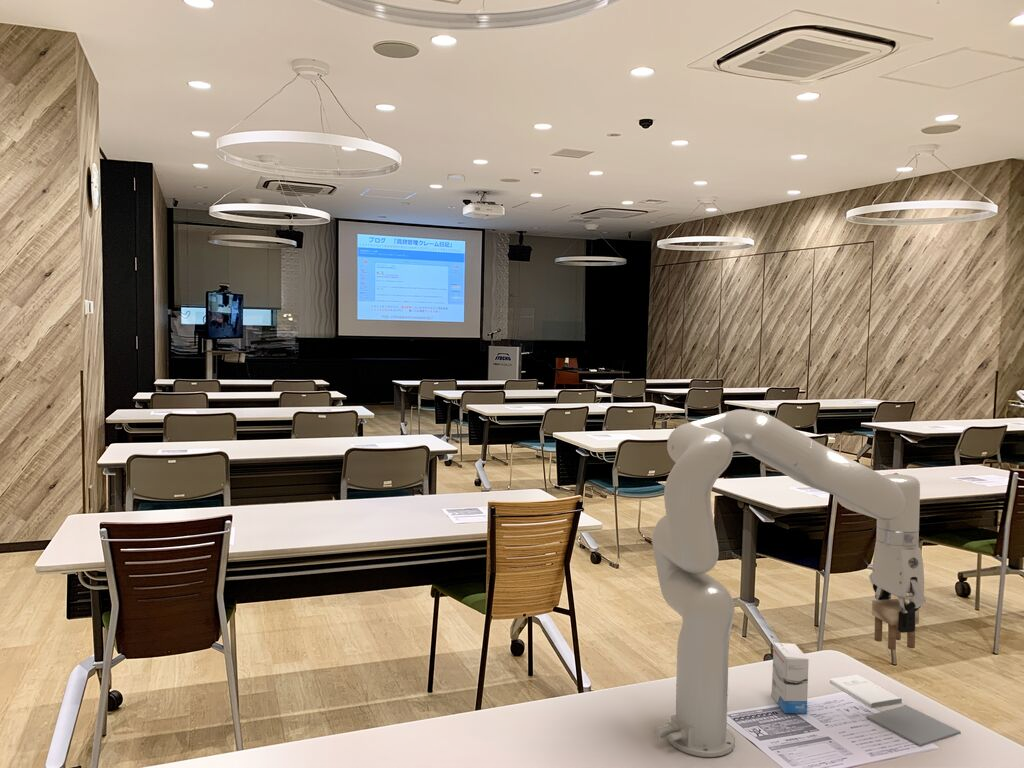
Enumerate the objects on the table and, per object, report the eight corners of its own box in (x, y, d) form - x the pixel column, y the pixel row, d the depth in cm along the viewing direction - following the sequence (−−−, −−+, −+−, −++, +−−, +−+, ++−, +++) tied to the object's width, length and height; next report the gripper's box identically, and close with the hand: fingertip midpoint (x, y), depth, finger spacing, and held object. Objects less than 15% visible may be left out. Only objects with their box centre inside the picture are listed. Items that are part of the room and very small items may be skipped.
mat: (920, 746, 143) (920, 744, 143) (866, 718, 154) (866, 716, 154) (960, 733, 148) (960, 731, 148) (905, 706, 159) (905, 704, 159)
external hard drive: (870, 710, 159) (829, 685, 170) (901, 705, 161) (858, 680, 173) (871, 703, 158) (829, 678, 170) (902, 698, 161) (859, 673, 173)
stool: (918, 648, 149) (919, 608, 149) (890, 650, 148) (891, 610, 148) (897, 636, 155) (898, 598, 154) (871, 638, 154) (872, 600, 154)
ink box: (808, 714, 155) (810, 658, 155) (783, 714, 155) (785, 658, 155) (793, 695, 164) (795, 642, 163) (770, 695, 164) (772, 641, 163)
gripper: (945, 547, 142) (942, 640, 143) (886, 525, 159) (883, 609, 160) (910, 549, 141) (907, 643, 142) (853, 527, 158) (851, 611, 159)
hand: (895, 624), depth 151 cm, fingers closed on stool, 6 cm apart
